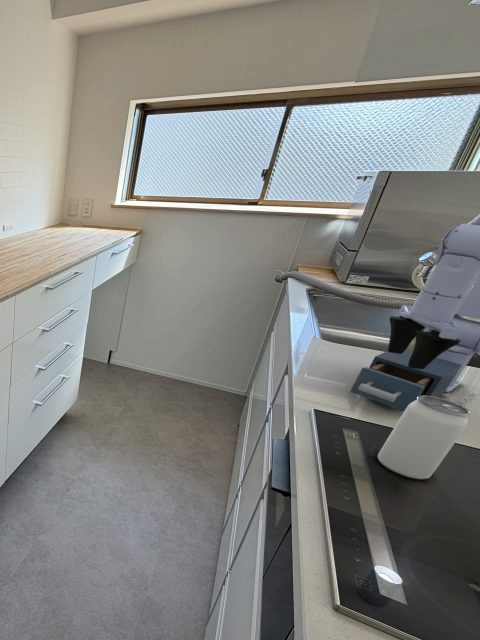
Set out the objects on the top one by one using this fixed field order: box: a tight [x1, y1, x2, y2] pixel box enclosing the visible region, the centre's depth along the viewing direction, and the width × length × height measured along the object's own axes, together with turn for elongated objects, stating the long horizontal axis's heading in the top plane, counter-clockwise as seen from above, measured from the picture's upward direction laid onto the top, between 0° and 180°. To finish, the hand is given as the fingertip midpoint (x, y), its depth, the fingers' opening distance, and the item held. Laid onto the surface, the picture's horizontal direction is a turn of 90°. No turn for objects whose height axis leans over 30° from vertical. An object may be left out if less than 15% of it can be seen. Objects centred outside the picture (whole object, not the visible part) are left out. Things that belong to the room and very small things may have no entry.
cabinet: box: [368, 349, 462, 398], centre depth 90 cm, size 13×11×8 cm
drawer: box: [349, 363, 434, 413], centre depth 85 cm, size 16×9×6 cm, turn 120°
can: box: [377, 396, 471, 480], centre depth 65 cm, size 6×6×12 cm
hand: (404, 359), depth 82 cm, fingers open, 7 cm apart
